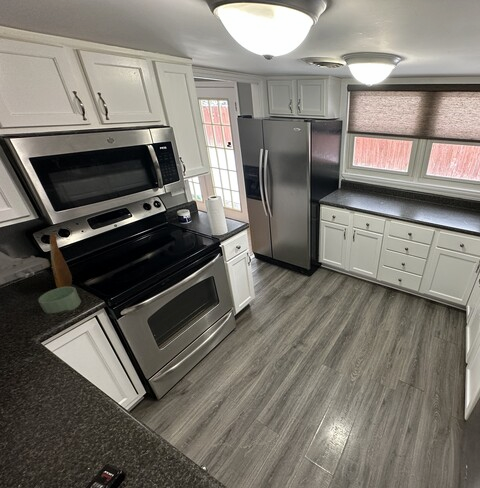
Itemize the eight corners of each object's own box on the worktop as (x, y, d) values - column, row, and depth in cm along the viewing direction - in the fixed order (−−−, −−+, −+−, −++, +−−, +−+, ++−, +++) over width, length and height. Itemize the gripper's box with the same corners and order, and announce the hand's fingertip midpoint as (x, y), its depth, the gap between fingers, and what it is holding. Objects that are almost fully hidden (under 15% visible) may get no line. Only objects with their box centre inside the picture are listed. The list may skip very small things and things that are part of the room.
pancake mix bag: (77, 274, 151) (58, 229, 139) (74, 291, 137) (52, 242, 125) (61, 278, 147) (40, 232, 135) (56, 295, 133) (32, 245, 121)
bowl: (37, 317, 119) (30, 303, 116) (61, 299, 130) (54, 286, 127) (67, 316, 120) (60, 302, 116) (88, 299, 131) (82, 286, 128)
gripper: (-23, 273, 116) (-5, 280, 112) (36, 254, 133) (53, 259, 129) (-16, 285, 118) (2, 292, 114) (42, 264, 136) (59, 270, 132)
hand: (30, 274), depth 122 cm, fingers closed
